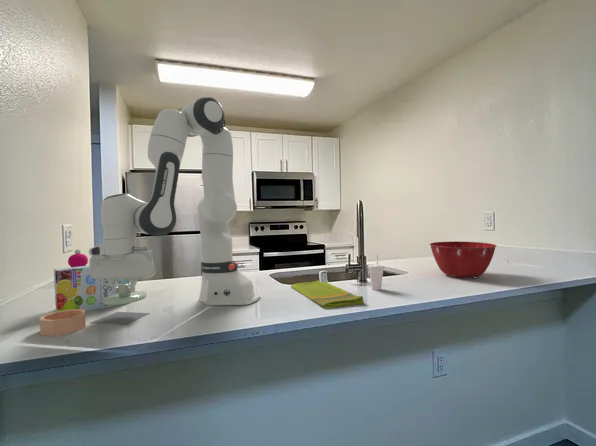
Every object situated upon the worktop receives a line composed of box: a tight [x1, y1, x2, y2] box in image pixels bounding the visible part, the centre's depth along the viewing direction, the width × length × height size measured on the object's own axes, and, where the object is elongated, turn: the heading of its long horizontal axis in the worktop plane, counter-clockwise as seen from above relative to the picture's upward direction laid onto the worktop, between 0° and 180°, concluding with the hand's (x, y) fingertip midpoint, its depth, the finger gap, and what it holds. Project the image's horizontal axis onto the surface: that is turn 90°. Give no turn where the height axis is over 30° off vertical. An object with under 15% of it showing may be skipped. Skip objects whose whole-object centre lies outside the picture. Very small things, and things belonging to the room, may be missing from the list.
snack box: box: [53, 265, 130, 312], centre depth 112 cm, size 21×6×15 cm, turn 129°
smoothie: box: [367, 254, 385, 291], centre depth 133 cm, size 6×6×14 cm
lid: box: [102, 283, 148, 306], centre depth 100 cm, size 12×12×4 cm
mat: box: [89, 311, 151, 326], centre depth 100 cm, size 12×11×1 cm
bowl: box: [39, 309, 87, 337], centre depth 91 cm, size 10×10×4 cm
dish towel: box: [290, 279, 365, 309], centre depth 126 cm, size 15×36×3 cm, turn 19°
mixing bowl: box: [429, 240, 497, 279], centre depth 157 cm, size 28×28×15 cm
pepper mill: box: [67, 248, 89, 268], centre depth 118 cm, size 7×7×20 cm
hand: (124, 292), depth 100 cm, fingers closed on lid, 3 cm apart
